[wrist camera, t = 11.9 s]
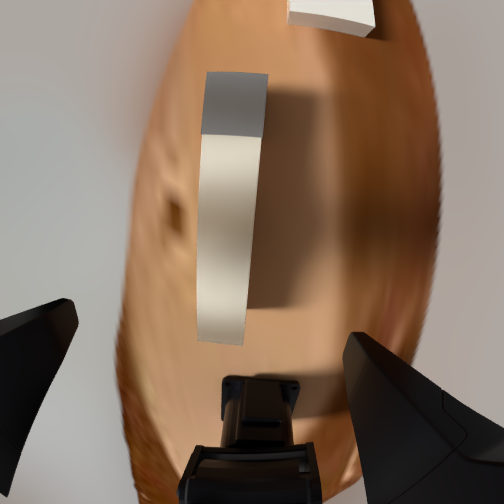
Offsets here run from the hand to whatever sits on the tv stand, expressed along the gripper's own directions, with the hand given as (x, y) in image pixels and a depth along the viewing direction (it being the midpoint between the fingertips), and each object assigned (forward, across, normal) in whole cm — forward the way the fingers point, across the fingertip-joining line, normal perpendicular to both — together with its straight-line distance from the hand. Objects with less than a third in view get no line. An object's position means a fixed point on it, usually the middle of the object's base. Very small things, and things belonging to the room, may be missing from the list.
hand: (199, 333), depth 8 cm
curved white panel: (+10, 0, -2) cm, 10 cm away
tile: (+9, -5, -14) cm, 17 cm away
